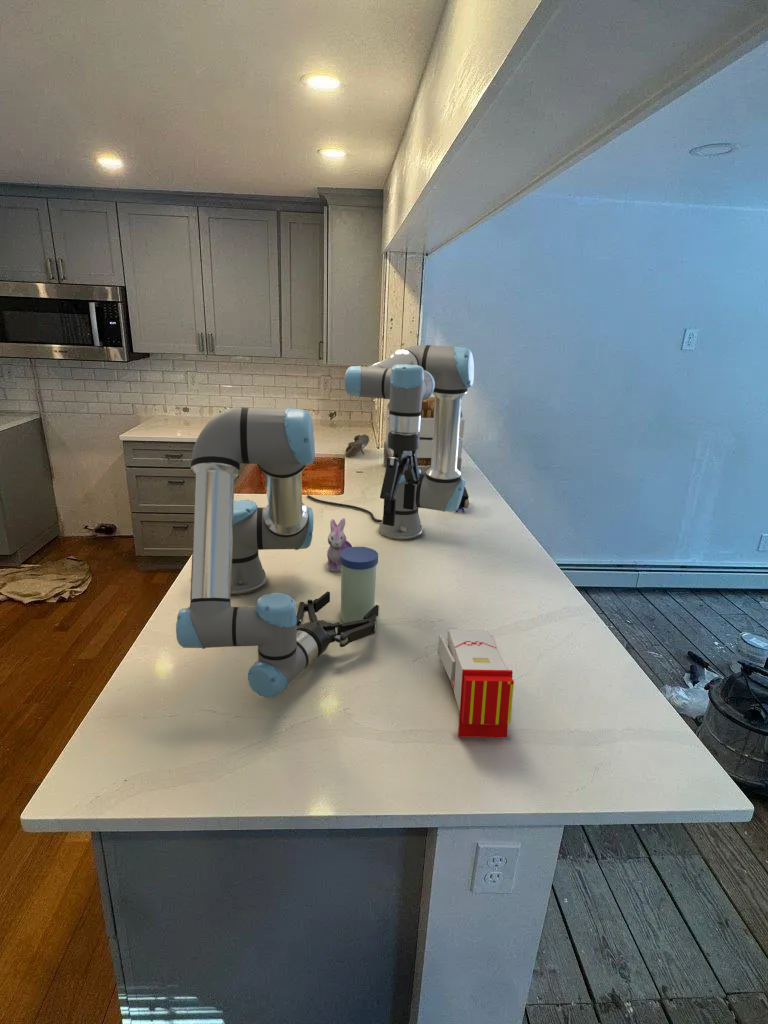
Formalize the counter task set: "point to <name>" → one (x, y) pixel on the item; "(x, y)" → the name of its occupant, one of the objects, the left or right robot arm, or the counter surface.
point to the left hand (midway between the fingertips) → (352, 603)
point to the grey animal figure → (357, 445)
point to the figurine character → (464, 501)
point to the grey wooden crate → (424, 435)
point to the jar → (357, 593)
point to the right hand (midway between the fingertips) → (398, 516)
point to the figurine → (336, 545)
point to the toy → (478, 682)
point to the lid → (359, 558)
